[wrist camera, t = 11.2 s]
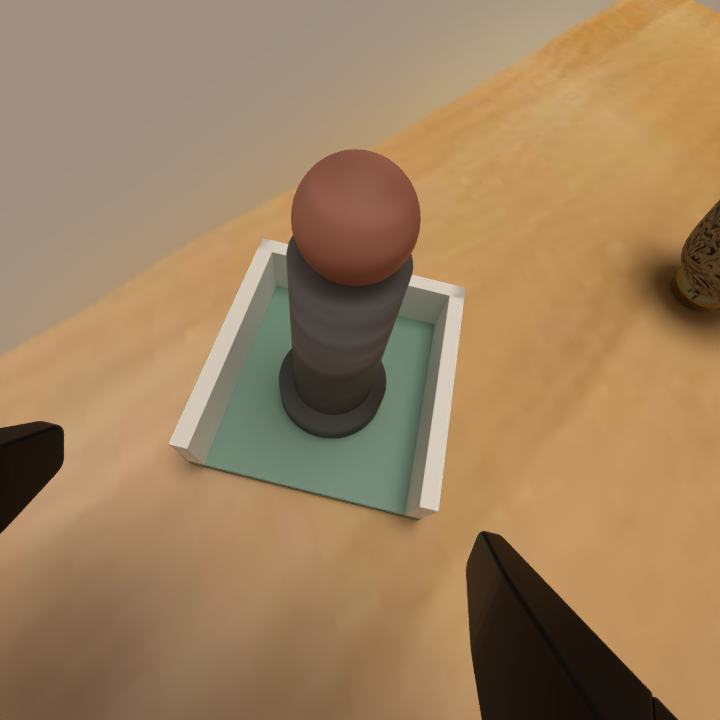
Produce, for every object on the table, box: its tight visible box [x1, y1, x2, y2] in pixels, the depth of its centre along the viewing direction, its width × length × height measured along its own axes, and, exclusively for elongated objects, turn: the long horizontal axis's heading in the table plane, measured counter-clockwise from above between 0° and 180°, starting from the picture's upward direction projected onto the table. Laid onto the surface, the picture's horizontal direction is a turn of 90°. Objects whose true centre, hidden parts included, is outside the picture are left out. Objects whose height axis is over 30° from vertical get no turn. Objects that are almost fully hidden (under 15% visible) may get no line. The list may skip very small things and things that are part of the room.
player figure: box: [279, 149, 421, 439], centre depth 16 cm, size 6×6×14 cm
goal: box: [169, 238, 465, 520], centre depth 21 cm, size 12×12×4 cm
